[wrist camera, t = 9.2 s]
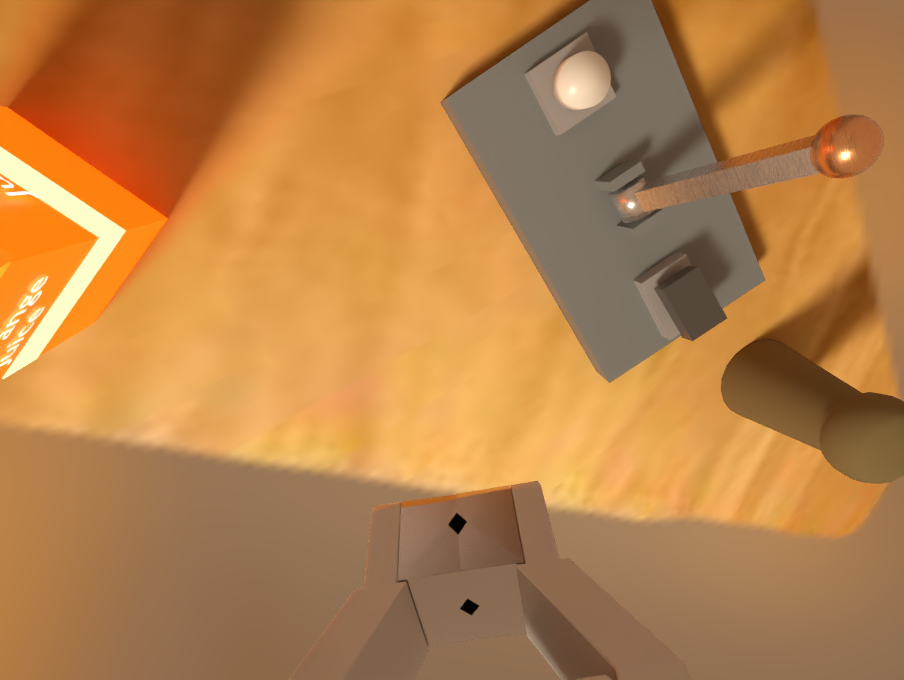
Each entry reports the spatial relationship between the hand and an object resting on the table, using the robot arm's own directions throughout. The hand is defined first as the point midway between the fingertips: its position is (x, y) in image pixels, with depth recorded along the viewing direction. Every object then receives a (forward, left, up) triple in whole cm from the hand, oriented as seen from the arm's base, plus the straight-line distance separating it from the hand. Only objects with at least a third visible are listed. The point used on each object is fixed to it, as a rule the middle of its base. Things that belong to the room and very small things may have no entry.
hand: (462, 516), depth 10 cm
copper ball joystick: (+4, +14, -21) cm, 26 cm away
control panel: (+4, +14, -24) cm, 28 cm away
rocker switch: (+11, +14, -20) cm, 27 cm away
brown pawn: (+22, +18, -25) cm, 37 cm away
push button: (-3, +14, -21) cm, 26 cm away
